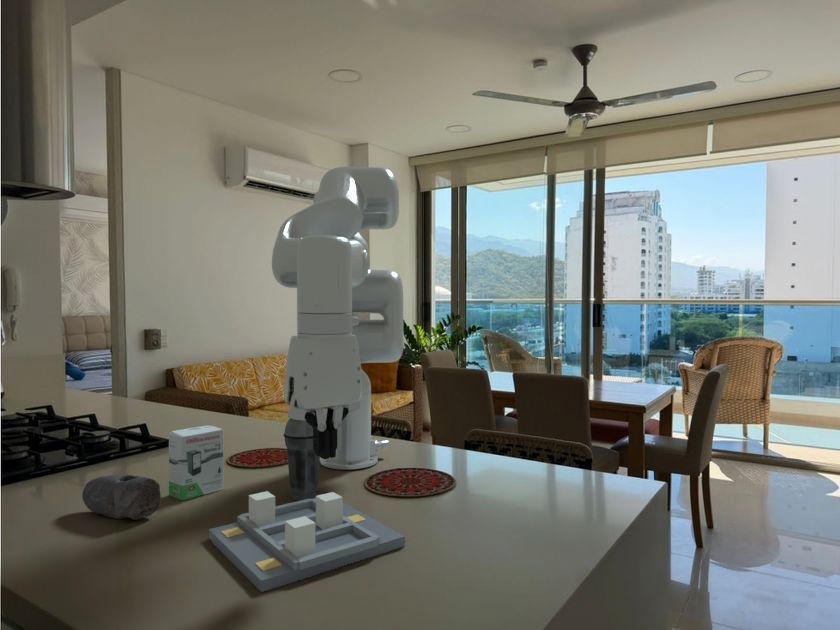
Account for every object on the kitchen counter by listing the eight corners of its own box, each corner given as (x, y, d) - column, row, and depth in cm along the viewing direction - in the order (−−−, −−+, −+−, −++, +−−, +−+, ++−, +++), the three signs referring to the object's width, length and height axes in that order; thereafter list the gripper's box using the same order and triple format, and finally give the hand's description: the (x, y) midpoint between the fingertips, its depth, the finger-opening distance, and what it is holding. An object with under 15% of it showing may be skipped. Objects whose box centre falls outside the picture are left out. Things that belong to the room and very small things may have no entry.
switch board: (335, 506, 102) (335, 492, 102) (406, 547, 85) (406, 530, 85) (208, 538, 88) (208, 521, 88) (262, 593, 72) (262, 573, 72)
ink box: (181, 501, 104) (180, 436, 103) (167, 495, 107) (167, 431, 107) (224, 489, 110) (224, 427, 110) (210, 484, 114) (210, 424, 113)
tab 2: (305, 548, 81) (305, 516, 81) (315, 555, 79) (315, 522, 79) (285, 553, 79) (285, 521, 79) (294, 561, 77) (294, 528, 77)
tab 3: (333, 520, 91) (333, 491, 91) (342, 526, 89) (342, 497, 89) (315, 524, 89) (315, 495, 89) (325, 531, 87) (325, 501, 87)
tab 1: (267, 519, 91) (267, 491, 91) (275, 525, 89) (275, 496, 89) (248, 524, 90) (248, 495, 89) (256, 530, 87) (256, 500, 87)
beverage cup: (331, 492, 109) (331, 386, 108) (311, 505, 102) (311, 392, 102) (297, 487, 111) (296, 384, 111) (275, 500, 105) (275, 389, 104)
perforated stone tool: (71, 515, 97) (70, 473, 97) (98, 504, 102) (98, 465, 102) (138, 528, 92) (138, 484, 92) (164, 516, 97) (164, 475, 97)
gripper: (356, 322, 88) (356, 441, 89) (262, 326, 79) (263, 459, 80) (384, 325, 82) (384, 453, 83) (286, 330, 73) (287, 474, 74)
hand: (325, 455), depth 82 cm, fingers closed
